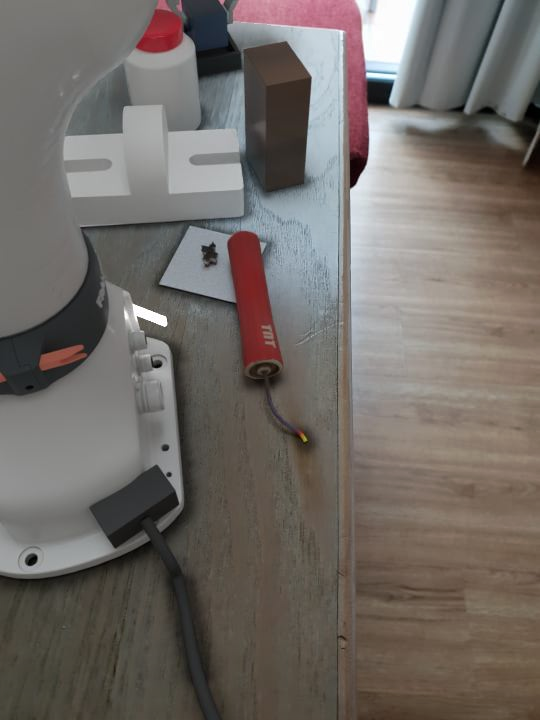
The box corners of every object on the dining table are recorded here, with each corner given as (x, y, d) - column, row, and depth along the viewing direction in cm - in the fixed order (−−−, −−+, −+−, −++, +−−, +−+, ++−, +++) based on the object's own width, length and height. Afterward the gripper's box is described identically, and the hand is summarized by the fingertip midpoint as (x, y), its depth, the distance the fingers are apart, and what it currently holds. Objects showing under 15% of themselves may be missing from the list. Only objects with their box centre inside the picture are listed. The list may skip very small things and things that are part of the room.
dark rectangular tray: (241, 69, 77) (241, 52, 75) (192, 78, 75) (191, 62, 74) (221, 35, 81) (220, 19, 79) (174, 43, 80) (172, 27, 78)
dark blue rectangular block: (228, 46, 75) (226, 12, 72) (197, 51, 74) (194, 18, 71) (213, 22, 78) (211, -12, 75) (183, 27, 77) (180, -6, 74)
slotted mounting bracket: (71, 165, 66) (47, 89, 59) (237, 155, 67) (234, 80, 60) (63, 228, 61) (36, 153, 53) (244, 216, 62) (242, 141, 55)
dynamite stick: (219, 248, 57) (246, 446, 47) (235, 225, 55) (267, 427, 44) (261, 259, 59) (296, 450, 49) (278, 237, 57) (318, 433, 47)
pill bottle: (198, 141, 69) (189, 44, 59) (129, 139, 69) (109, 42, 59) (204, 100, 73) (196, 4, 64) (139, 98, 73) (122, 2, 64)
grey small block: (241, 304, 55) (240, 290, 54) (158, 284, 56) (155, 270, 55) (266, 243, 60) (267, 229, 58) (189, 226, 61) (188, 211, 59)
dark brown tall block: (304, 183, 65) (312, 76, 55) (265, 192, 64) (266, 85, 54) (282, 147, 68) (286, 40, 58) (245, 155, 67) (243, 48, 57)
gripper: (102, -83, 60) (127, 54, 71) (296, -109, 64) (290, 25, 76) (90, -108, 63) (116, 27, 75) (275, -131, 67) (272, 0, 79)
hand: (205, 26), depth 75 cm, fingers closed on dark blue rectangular block, 4 cm apart
